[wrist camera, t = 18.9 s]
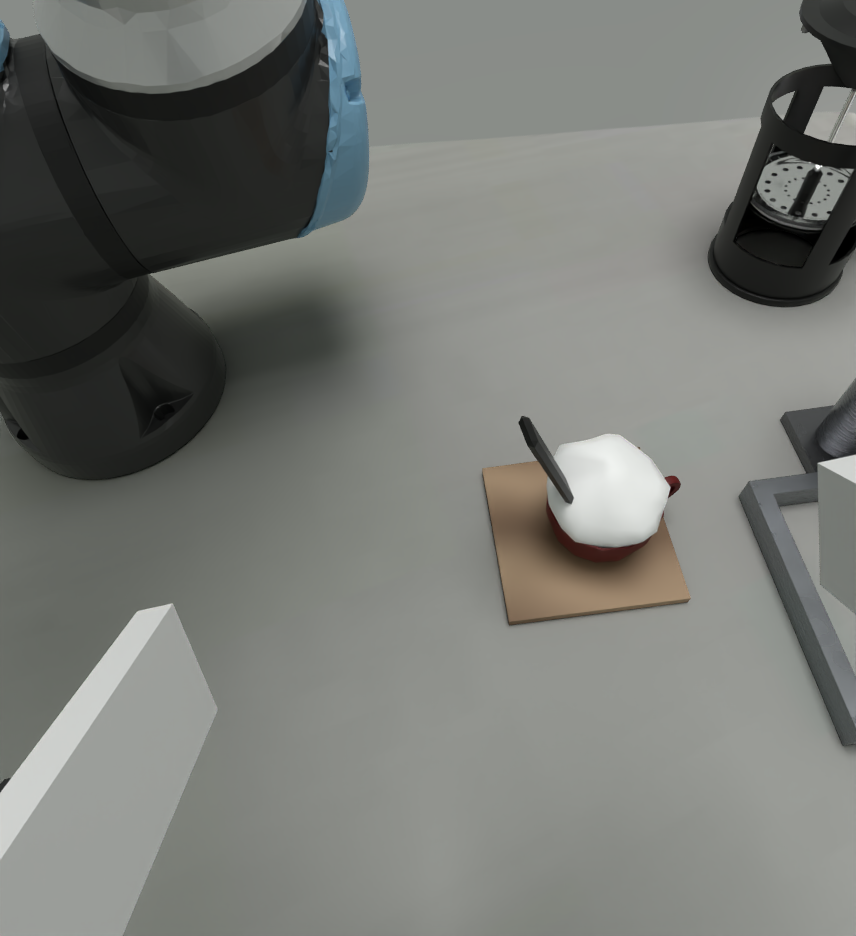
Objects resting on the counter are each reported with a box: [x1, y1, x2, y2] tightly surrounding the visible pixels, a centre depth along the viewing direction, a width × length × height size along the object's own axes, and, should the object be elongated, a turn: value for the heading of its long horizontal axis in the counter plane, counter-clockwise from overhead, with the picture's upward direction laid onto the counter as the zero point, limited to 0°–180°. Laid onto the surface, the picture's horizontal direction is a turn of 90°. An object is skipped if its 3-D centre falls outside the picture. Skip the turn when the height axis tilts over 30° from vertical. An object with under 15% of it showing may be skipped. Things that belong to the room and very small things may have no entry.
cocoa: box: [519, 416, 681, 562], centre depth 32 cm, size 10×6×12 cm, turn 82°
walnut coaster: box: [482, 447, 691, 625], centre depth 37 cm, size 10×10×1 cm
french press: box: [708, 0, 856, 307], centre depth 38 cm, size 12×9×23 cm
